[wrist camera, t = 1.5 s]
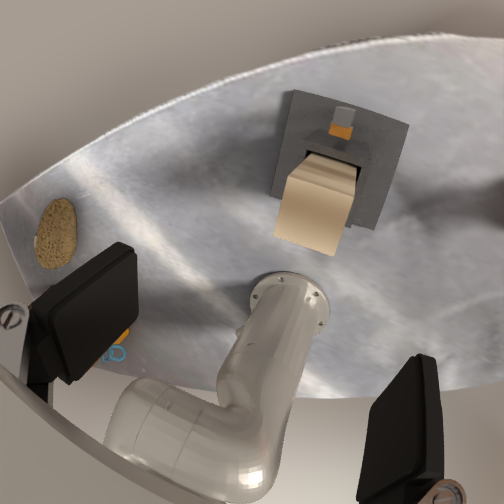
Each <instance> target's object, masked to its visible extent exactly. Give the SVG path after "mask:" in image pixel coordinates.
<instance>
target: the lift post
mask: <svg viewBox="0 0 504 504" xmlns="http://www.w3.org/2000/svg"><path fill="white" fill-rule="evenodd" d="M356 171H357V165H354V164H351V163H348V162H345V161H342V160H339V159H336V158H333V157H330V156H327V155H323V154H320V153H317V152H312V153H311V154H310V155H309V156H308V157H307V158H306V159H305V160H304V161H303V162H302V163H301V164H300V165H299V166H298V167H297V168H296V169H295V170H294V171H293V172H292V173H290V174H289V175H288V177H287V181H286V186H285V190H284V194H283V198H282V202H281V206H280V210H279V214H278V218H277V222H276V226H275V230H274V234H273V236H275V237H278V238H281V239H284V240H287V241H290V242H293V243H295V244H298V245H301V246H304V247H307V248H310V249H313V250H316V251H319V252H322V253H325V254H327V255H330V256H333V257H334V254H335V251H336V248H337V246H338V243H339V240H340V237H341V235H342V232H343V229H344V226H345V223H346V220H347V217H348V215H349V212H350V209H351V206H352V203H353V200H354V194H355V183H356Z"/></svg>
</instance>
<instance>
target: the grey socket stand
mask: <svg viewBox="0 0 504 504" xmlns="http://www.w3.org/2000/svg"><path fill="white" fill-rule="evenodd" d="M408 128H409V125H408V124H406V123H403V122H401V121H398V120H395V119H393V118H390V117H387V116H384V115H381V114H378V113H376V112H373V111H370V110H367V109H364V108H360V107H357V106H354V105H351V104H348V103H344V102H341V101H337V100H334V99H330V98H327V97H323V96H319V95H315V94H311V93H307V92H303V91H299V90H295V89H294V92H293V97H292V101H291V106H290V110H289V114H288V119H287V123H286V128H285V132H284V136H283V141H282V145H281V150H280V154H279V158H278V163H277V167H276V171H275V176H274V180H273V185H272V189H271V193H270V196H273V197H276V198H279V199H282V198H283V194H284V190H285V186H286V181H287V177H288V175H289V174H290V173H292V172H293V171H294V170H295V169H296V168H297V167H298V166H299V165H300V164H301V163H302V162H303V161H304V160H305V159H306V158H307V157H308V156H309V155H310V154H311V153H312V152H317V153H320V154H323V155H327V156H330V157H333V158H336V159H339V160H342V161H345V162H348V163H351V164H354V165H357V171H356V183H355V194H354V200H353V203H352V206H351V209H350V212H349V215H348V217H347V220H346V223H345V226H346V227H348V228H351V225H352V223H355V224H357V225H360V226H363V227H366V228H369V229H371V230H374V229H375V226H376V223H377V221H378V218H379V215H380V213H381V210H382V207H383V205H384V202H385V199H386V196H387V193H388V191H389V188H390V185H391V182H392V179H393V176H394V173H395V170H396V167H397V164H398V161H399V158H400V154H401V151H402V148H403V145H404V141H405V138H406V135H407V131H408Z"/></svg>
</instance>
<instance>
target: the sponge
mask: <svg viewBox="0 0 504 504" xmlns="http://www.w3.org/2000/svg"><path fill="white" fill-rule="evenodd" d="M76 236H77V219H76V215H75V212H74V207H73V205H72V204H71V203H70V202H69V201H68V200H67V199H64V198H62V199H58V200H56V199H55V200H53V201H52V202H51V203H50V204H49V205H48V206H47V208H46V209H45V212H44V214H43V216H42V218H41V221H40V225H39V227H38V232H37V236H35V237H34V249H35V253H36V256H37V261H38V262H39V263H40V265H41V266H43V267H44V268H46V269H56V268H59V267H61V266H63V265H65V264H67V263H68V262H69V261H70V260H71V259H72V256H73V255H74V253H75V251H76V245H77V237H76Z"/></svg>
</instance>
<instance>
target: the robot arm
mask: <svg viewBox="0 0 504 504" xmlns="http://www.w3.org/2000/svg"><path fill="white" fill-rule="evenodd" d="M31 305H32V308H31V309H30V310H28V307H27V306H26V305H25V304H24V303H21V302H19V301H9V302H6V303H3V304H1V305H0V504H226V503H225V502H228V503H234V504H247V503H252V502H255V501H257V500H259V499H261V498H262V497H264V496H265V495H266V494H267V493H268V492H269V490H270V489H271V488H272V486H273V484H274V482H275V479H276V477H277V473H278V470H279V466H280V460H281V454H282V447H283V441H284V435H285V430H286V425H287V422H288V418H289V414H290V411H291V408H292V404H293V401H294V398H295V395H296V392H297V389H298V386H299V382H300V379H301V376H302V373H303V369H304V366H305V363H306V359H307V356H308V352H309V349H310V346H311V342H312V338H313V337H314V336H315V335H317V334H318V333H320V332H321V331H322V330H323V328H324V327H325V325H326V324H327V321H328V318H329V312H330V310H329V302H328V299H327V297H326V295H325V293H324V292H323V290H322V289H321V288H320V287H319V286H318V285H317V284H316V283H315V282H314V281H312V280H310V279H309V278H307V277H305V276H302V275H300V274H296V273H292V272H278V273H273V274H270V275H268V276H266V277H264V278H262V279H261V280H260V281H259V282H258V283H257V284H256V286H255V287H254V289H253V291H252V293H251V297H250V308H251V312H252V313H251V315H250V317H249V319H248V320H247V322H246V324H245V325H244V326H242V327H240V328H239V329H237V330H236V336H237V337H238V338H237V340H236V342H235V343H234V345H233V347H232V349H231V350H230V352H229V354H228V356H227V357H226V359H225V361H224V363H223V364H222V366H221V368H220V370H219V372H218V376H217V381H216V390H217V396H218V401H219V404H220V406H218V405H215V404H213V403H209V402H207V401H205V400H202V399H200V398H198V397H196V396H194V395H192V394H190V393H188V392H185V391H183V390H181V389H179V388H177V387H175V386H173V385H171V384H169V383H167V382H164V381H162V380H160V379H157V378H153V377H141V378H138V379H136V380H134V381H133V382H131V383H130V384H129V385H128V386H127V387H126V388H125V390H124V391H123V392H122V394H121V396H120V398H119V399H118V401H117V403H116V406H115V408H114V410H113V413H112V416H111V419H110V422H109V425H108V428H107V431H106V435H105V438H104V442H103V445H102V444H101V443H99V442H98V441H96V440H95V439H93V438H92V437H90V436H89V435H87V434H86V433H85V432H83V431H82V430H80V429H79V428H78V427H76V426H75V425H74V424H72V423H71V422H70V421H68V420H67V419H66V418H64V417H63V416H62V415H60V414H59V413H58V412H57V411H56V410H54V409H53V382H54V380H55V379H56V378H57V377H59V378H60V379H61V380H62V381H64V382H65V383H66V384H68V385H70V384H71V383H72V382H73V381H74V380H75V381H77V380H79V379H80V378H81V377H82V376H83V375H84V374H85V373H86V372H87V371H88V370H89V369H90V368H91V367H92V365H93V364H94V363H95V362H96V361H97V360H98V359H99V358H100V357H101V356H102V355H103V354H104V353H105V352H106V351H107V350H108V349H109V348H110V346H111V345H112V344H113V343H114V342H115V341H116V340H117V339H118V338H119V337H120V336H121V335H122V334H123V333H124V332H125V331H126V330H127V329H128V328H129V327H130V326H131V325H132V324H133V323H134V322H135V320H136V319H137V317H138V313H139V307H138V279H137V255H136V253H135V252H134V249H133V248H132V247H131V246H128V245H126V244H124V243H121V242H116V243H114V244H113V245H111V246H110V247H108V248H107V249H105V250H104V251H103V252H101V253H100V254H98V255H97V256H95V257H94V258H92V259H91V260H90V261H88V262H87V263H85V264H84V265H82V266H81V267H80V268H78V269H77V270H75V271H74V272H73V273H71V274H70V275H68V276H67V277H66V278H64V279H63V280H62V281H60V282H59V283H57V284H56V285H55V286H53V287H52V288H51V289H49V290H48V291H47V292H45V293H44V294H43V295H41V296H40V297H39V298H38V299H36V300H35V301H34V302H32V303H31ZM443 433H444V432H443V415H442V407H441V400H440V390H439V381H438V372H437V365H436V360H435V358H433V357H430V356H426V355H423V354H417V355H416V356H415V357H414V356H412V357H410V358H409V360H408V361H407V362H406V364H405V365H404V366H403V367H402V369H401V370H400V371H399V373H398V374H397V375H396V376H395V378H394V379H393V380H392V381H391V383H390V384H389V385H388V386H387V388H386V389H385V390H384V391H383V392H382V394H381V395H380V396H379V397H378V398H377V400H376V401H375V402H374V403H373V405H372V406H371V409H370V412H369V420H368V428H367V435H366V442H365V449H364V456H363V462H362V468H361V473H360V479H359V484H358V489H357V494H356V501H358V502H359V504H466V494H465V491H464V489H463V487H462V486H461V484H459V483H458V482H457V481H455V480H452V479H444V434H443Z"/></svg>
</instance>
